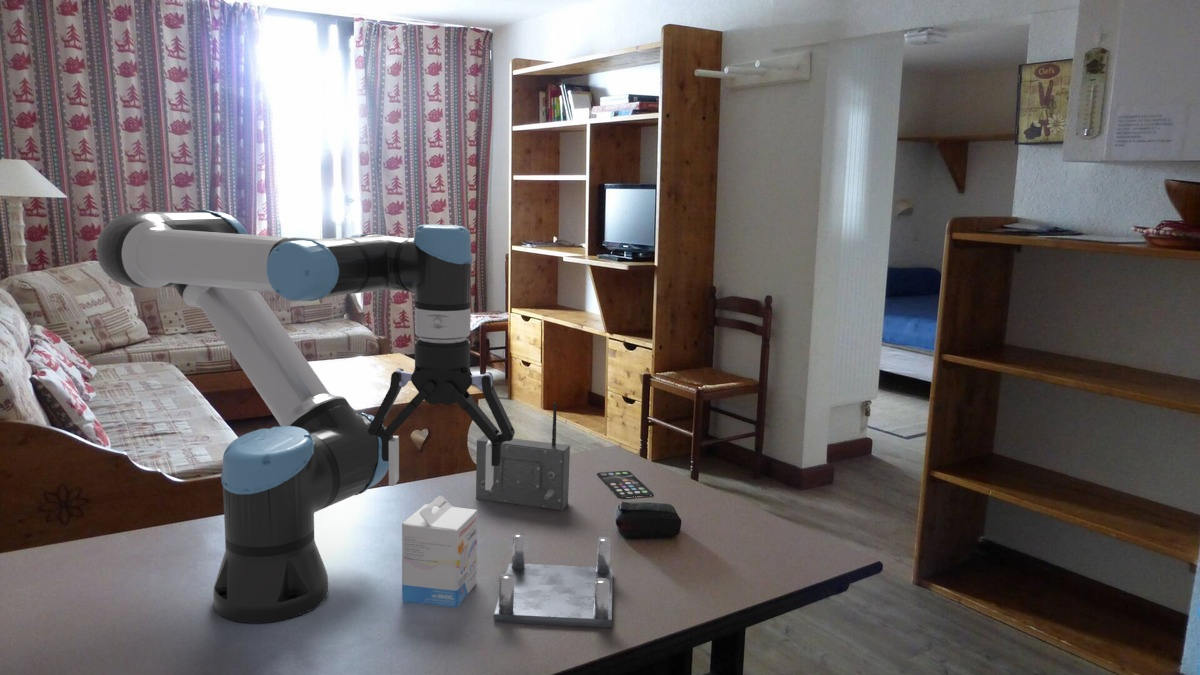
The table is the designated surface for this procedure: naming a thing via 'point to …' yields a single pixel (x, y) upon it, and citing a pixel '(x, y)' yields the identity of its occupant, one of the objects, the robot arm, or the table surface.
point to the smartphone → (624, 484)
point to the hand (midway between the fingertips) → (441, 485)
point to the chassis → (556, 590)
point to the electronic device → (527, 472)
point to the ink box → (439, 554)
